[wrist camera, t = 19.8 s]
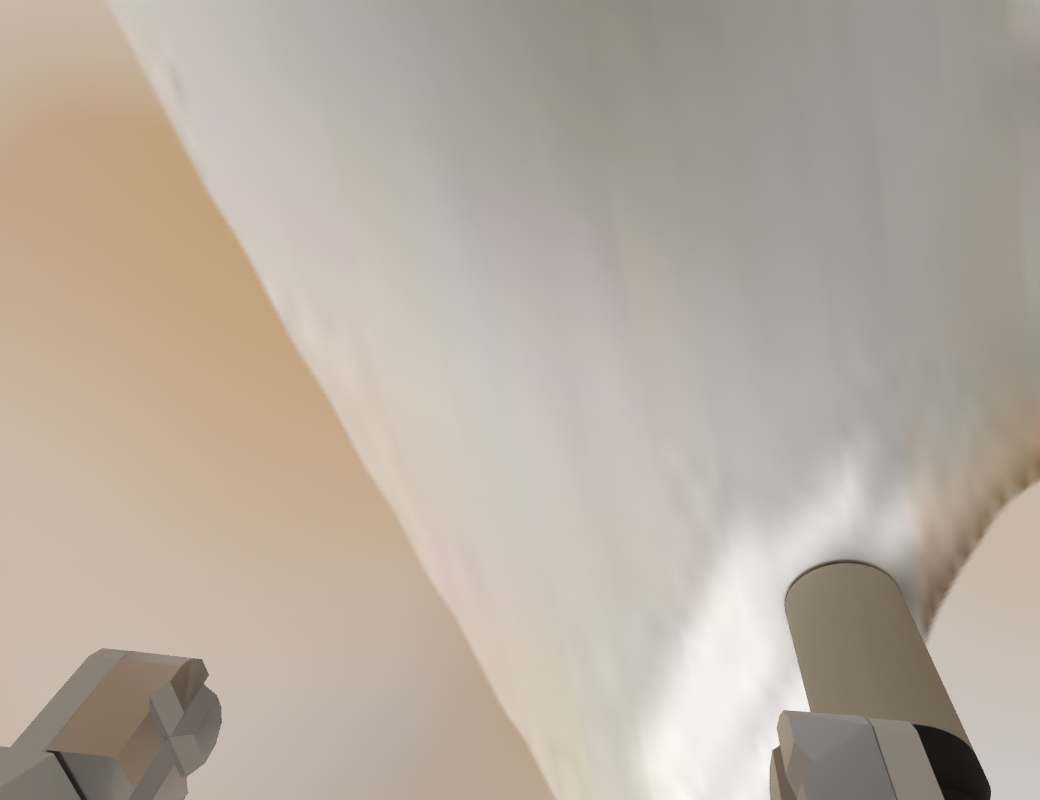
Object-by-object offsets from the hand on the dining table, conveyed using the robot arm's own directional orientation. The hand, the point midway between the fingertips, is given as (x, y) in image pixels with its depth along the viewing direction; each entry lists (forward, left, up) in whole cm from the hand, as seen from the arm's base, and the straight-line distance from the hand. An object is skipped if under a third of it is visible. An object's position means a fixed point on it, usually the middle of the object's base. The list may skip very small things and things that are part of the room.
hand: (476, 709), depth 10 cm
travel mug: (-18, +30, -34) cm, 49 cm away
